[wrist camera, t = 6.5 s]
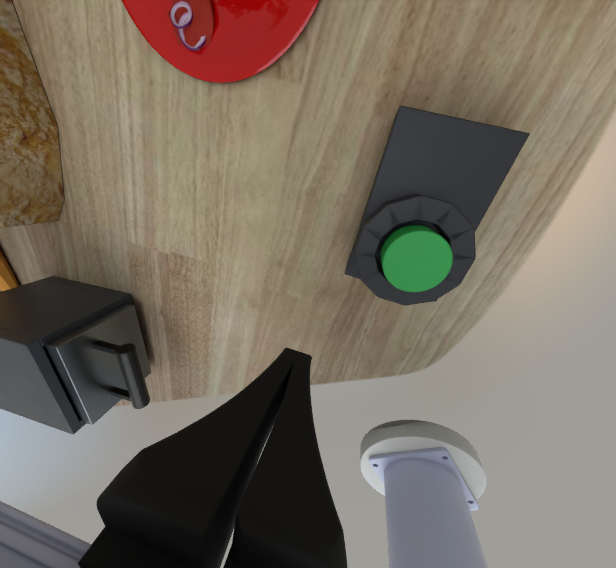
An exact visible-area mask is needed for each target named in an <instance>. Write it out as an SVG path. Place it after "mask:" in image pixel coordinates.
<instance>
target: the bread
mask: <svg viewBox="0 0 616 568" xmlns="http://www.w3.org/2000/svg"><path fill="white" fill-rule="evenodd" d="M63 201H64V191H63V181H62V170H61V160H60V150H59V139H58V129H57V124H56V122H55V119H54V116H53V113H52V111H51V108H50V105H49V102H48V100H47V97H46V94H45V91H44V89H43V86H42V83H41V80H40V78H39V75H38V72H37V69H36V67H35V64H34V61H33V58H32V56H31V53H30V50H29V47H28V45H27V42H26V39H25V36H24V34H23V31H22V28H21V25H20V23H19V20H18V17H17V14H16V12H15V9H14V6H13V3H12V1H11V0H0V227H12V226H20V225H28V224H35V223H43V222H51V221H58V219H59V215H60V212H61V208H62V205H63Z"/></svg>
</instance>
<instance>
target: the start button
mask: <svg viewBox="0 0 616 568" xmlns="http://www.w3.org/2000/svg"><path fill="white" fill-rule="evenodd" d="M452 262H453V254H452V250H451V247H450V245H449V244H448V242H447V241H446V240H445V239H444V238H443V237H442V236H440V235H439V234H438V233H436V232H435V231H433V230H432V229H430V228H428V227H426V226H422V225H409V226H405V227H402V228H399V229H398V230H396V231H394V232H393V233H392V234H391V235H390V236H389V237H388V238H387V239H386V241H385V242H384V244H383V246H382V249H381V263H382V268H383V272H384V275H385V277H386V278H387V280H388V281H389V282H390V283H391V284H392V285H393V286H395V287H396V288H398V289H400V290H403V291H407V292H421V291H426V290H429V289H431V288H433V287H435V286H437V285H438V284H439V283H441V282H442V281H443V280H444V279H445V277H446V276H447V275H448V273H449V271H450V269H451V266H452Z"/></svg>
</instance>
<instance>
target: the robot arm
mask: <svg viewBox="0 0 616 568" xmlns="http://www.w3.org/2000/svg"><path fill="white" fill-rule="evenodd" d="M311 359H312V357H311V356H310V355H308V354H305V353H302V352H299V351H295V350H292V349H289V348H285V349H284V350H283V352H282V353H281V354H280V355H279V356H278V358H277V359H276V360H275V361H274V362H273V363H272V364H271V365H270V366H269V367H268V368H267V369H266V370H265V371H264V372H263V373H262V374H261V375H260V376H259V377H257V378H256V379H255V380H254V381H253V382H252V383H250V384H249V385H248V386H247V387H246V388H245V389H243V390H242V391H241V392H240V393H238V394H237V395H236V396H234V397H233V398H232V399H230V400H229V401H227V402H226V403H225V404H223V405H222V406H220V407H219V408H217V409H216V410H214V411H213V412H211V413H209V414H208V415H206V416H205V417H203V418H202V419H200V420H198V421H196V422H194V423H193V424H191V425H189V426H187V427H186V428H184V429H182V430H181V431H178V432H177V433H175V434H173V435H171V436H169V437H167V438H165V439H163V440H161V441H159V442H157V443H155V444H153V445H151V446H149V447H146V448H144V449H143V450H141V451H140V452H139V453H138V454H137V455H136V456H135V457H134V458H133V459H132V460H131V461H130V462H129V463H128V464H127V465H126V466H125V467H124V468H123V469H122V470H121V471H120V472H119V474H118V475H117V476H116V477H115V478H114V480H113V481H112V482H111V483H110V484H109V486H108V487H107V488H106V489H105V490H104V491H103V493H102V494H101V495H100V496H99V498H98V500H97V509H98V511H99V513H100V516H101V518H102V520H103V522H104V524H105V528H104V529H103V530H102V532H101V533H100V534H99V536H98V537H97V538H96V540H95V541H94V542H93V544H92V545H91V544H89V543H87V542H85V541H83V540H81V539H78V538H76V537H74V536H72V535H70V534H68V533H66V532H64V531H61V530H60V529H58V528H55V527H54V526H51V525H49V524H47V523H45V522H43V521H41V520H39V519H37V518H35V517H33V516H30V515H28V514H26V513H24V512H22V511H20V510H18V509H16V508H14V507H12V506H9V505H7V504H5V503H3V502H1V501H0V568H220V566H221V563H222V560H223V557H224V555H225V552H226V549H227V546H228V543H229V540H230V537H231V535H232V532H233V529H234V534H233V542H232V546H231V548H230V551H229V554H228V557H227V559H226V562H225V565H224V567H223V568H347V558H346V550H345V542H344V534H343V529H342V526H341V523H340V520H339V517H338V515H337V511H336V508H335V506H334V503H333V499H332V496H331V493H330V489H329V486H328V483H327V479H326V475H325V472H324V468H323V464H322V460H321V457H320V452H319V448H318V443H317V438H316V433H315V427H314V422H313V415H312V406H311V396H310V365H311ZM272 427H273V428H272ZM271 429H272V430H271ZM270 431H271V433H270ZM269 434H270V435H269ZM268 436H269V438H268ZM267 438H268V440H267ZM266 440H267V443H266V445H265V447H264V444H265V442H266ZM263 447H264V450H263V452H262V449H263ZM261 452H262V454H261ZM260 454H261V457H260V459H259V456H260ZM258 459H259V461H258ZM368 460H369V463H370V465H371V466H372V467H373V469H374V470H375V472H376V473H377V474H378V476H379V477H380V479H381V480H382V481H383V483H384V488H385V504H386V521H387V536H388V554H389V568H487V565H486V562H485V558H484V555H483V552H482V549H481V546H480V543H479V539H478V536H477V533H476V530H475V527H474V523H473V520H472V517H471V514H470V511H471V510H472V511H474V510H478V509H479V505H478V503H477V501H476V499H475V498H474V496H473V494H472V492H471V491H470V489H469V487H468V485H467V484H466V482H465V480H464V478H463V476H462V475H461V473H460V471H459V469H458V468H457V466H456V464H455V462H454V461H453V459H452V457H451V455H450V454H449V452H448V450H447V449H446V448H444V447H437V448H429V449H421V450H413V451H405V452H397V453H389V454H381V455H373V456H369V458H368ZM257 462H258V464H257ZM256 465H257V466H256ZM254 470H255V471H254ZM234 526H235V527H234Z"/></svg>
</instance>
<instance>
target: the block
mask: <svg viewBox="0 0 616 568" xmlns="http://www.w3.org/2000/svg"><path fill="white" fill-rule="evenodd" d="M528 136H529V133H525V132H521V131H516V130H511V129H507V128H502V127H498V126H493V125H488V124H484V123H479V122H474V121H470V120H465V119H461V118H456V117H451V116H447V115H442V114H437V113H433V112H428V111H423V110H419V109H414V108H410V107H405V106H400V107H399V109H398V111H397V114H396V116H395V119H394V122H393V126H392V129H391V132H390V135H389V138H388V141H387V144H386V147H385V150H384V153H383V156H382V159H381V162H380V165H379V168H378V171H377V174H376V178H375V181H374V184H373V187H372V190H371V193H370V196H369V199H368V202H367V205H366V208H365V211H364V214H363V217H362V220H361V223H360V227H359V230H358V233H357V236H356V239H355V242H354V245H353V248H352V251H351V254H350V257H349V260H348V263H347V266H346V271H345V274H346V275H349V276H352V277H356V278H359V279H361V280H362V281H363V282H364V284H365V285H366V286H367V287H368V288H369V289H370V290H371V291H372V292H373V293H374V294H375V295H376V296H377V297H379V298H382V299H385V300H389V301H392V302H395V303H399V304H402V305H411V304H418V303H425V302H433V301H437V299H438V298H439V297H441V296H443V295H444V294H446V293H447V292H449V291H450V290H452V289H454V288H455V287H457V286H458V285H459V284H461V282H462V280H463V279H464V277H465V275H466V274H467V272H468V270H469V268H470V267H471V265H472V263H473V262H474V260H475V257H476V253H475V231H476V229H477V227H478V226H479V224H480V222H481V220H482V218H483V217H484V215H485V213H486V211H487V209H488V208H489V206H490V204H491V202H492V200H493V199H494V197H495V195H496V193H497V192H498V190H499V188H500V186H501V184H502V183H503V181H504V179H505V177H506V175H507V174H508V172H509V170H510V168H511V166H512V165H513V163H514V161H515V159H516V158H517V156H518V154H519V152H520V150H521V149H522V147H523V145H524V143H525V141H526V140H527V138H528ZM409 225H422V226H426V227H428V228H430V229H432V230H433V231H435V232H436V233H438V234H439V235H440V236H442V237H443V238H444V239H445V240H446V241H447V242H448V244H449V245H450V247H451V250H452V254H453V262H452V266H451V269H450V271H449V273H448V275H447V276H446V277H445V279H444V280H443V281H442V282H441V283H439V284H438V285H437V286H435V287H433V288H431V289H429V290H426V291H421V292H407V291H403V290H400V289H398V288H396V287H395V286H393V285H392V284H391V283H390V282H389V281H388V280H387V278H386V277H385V275H384V272H383V268H382V263H381V249H382V246H383V244H384V242H385V241H386V239H387V238H388V237H389V236H390V235H391V234H392V233H393V232H394V231H396V230H398V229H399V228H402V227H405V226H409Z"/></svg>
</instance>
